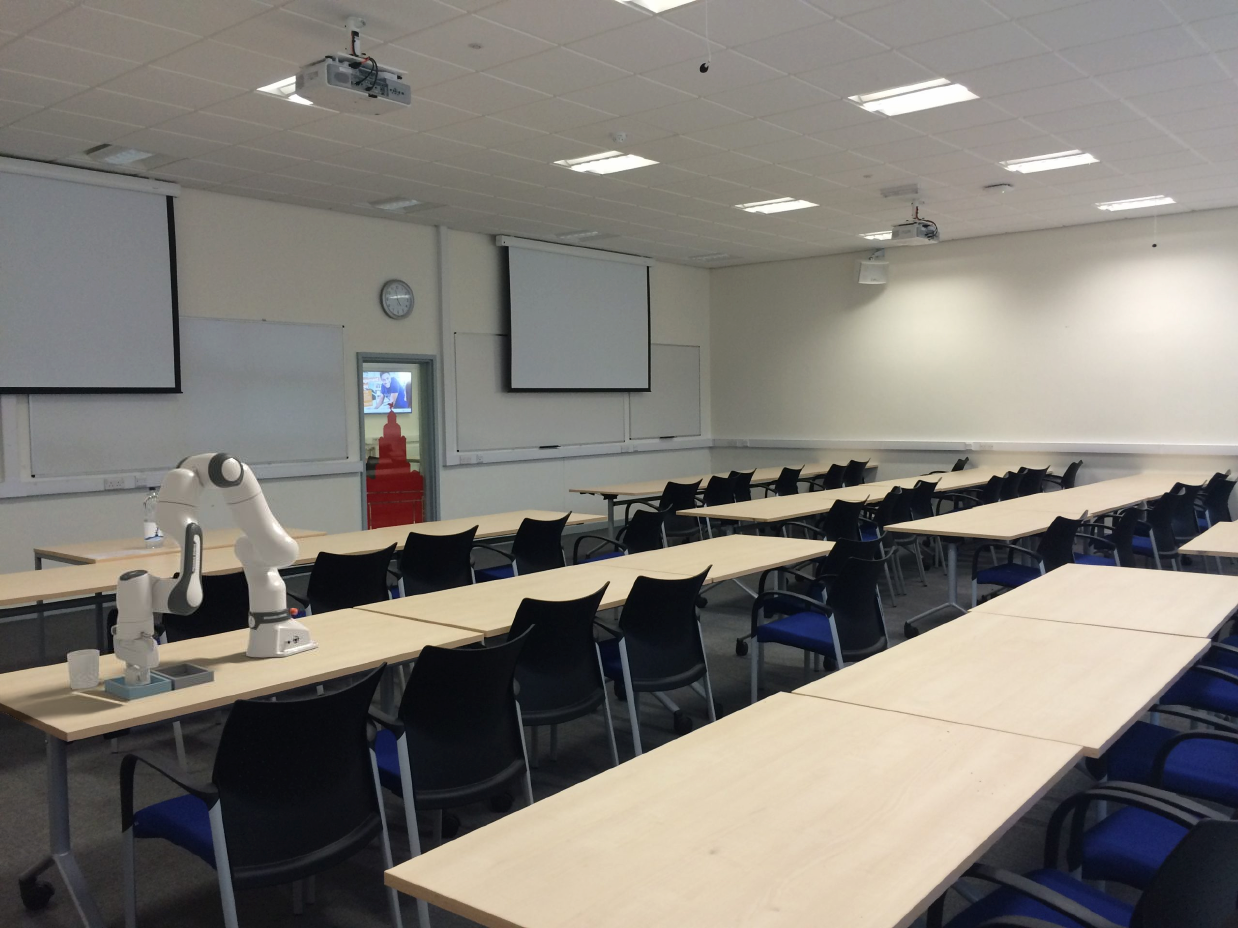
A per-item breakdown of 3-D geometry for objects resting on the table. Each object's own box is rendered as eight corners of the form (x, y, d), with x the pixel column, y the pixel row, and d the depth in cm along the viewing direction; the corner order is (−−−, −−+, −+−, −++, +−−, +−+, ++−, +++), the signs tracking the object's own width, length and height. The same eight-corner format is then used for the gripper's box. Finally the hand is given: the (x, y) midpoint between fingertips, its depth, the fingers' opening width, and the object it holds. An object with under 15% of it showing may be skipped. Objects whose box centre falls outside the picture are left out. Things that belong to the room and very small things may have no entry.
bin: (145, 683, 262) (145, 671, 262) (171, 692, 252) (171, 680, 252) (105, 692, 254) (104, 679, 254) (129, 702, 244) (129, 689, 243)
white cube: (140, 680, 256) (139, 664, 256) (150, 682, 254) (149, 666, 253) (125, 684, 252) (124, 668, 252) (135, 687, 250) (134, 670, 250)
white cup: (64, 692, 254) (63, 657, 254) (73, 684, 262) (72, 650, 261) (96, 689, 256) (94, 654, 256) (104, 682, 264) (102, 648, 263)
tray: (187, 673, 272) (187, 662, 271) (214, 682, 261) (213, 670, 261) (149, 682, 263) (149, 670, 263) (175, 691, 253) (174, 679, 253)
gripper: (164, 632, 248) (166, 682, 249) (131, 623, 261) (133, 670, 262) (140, 637, 243) (142, 688, 244) (108, 627, 256) (110, 675, 257)
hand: (137, 679), depth 253 cm, fingers closed on white cube, 5 cm apart
